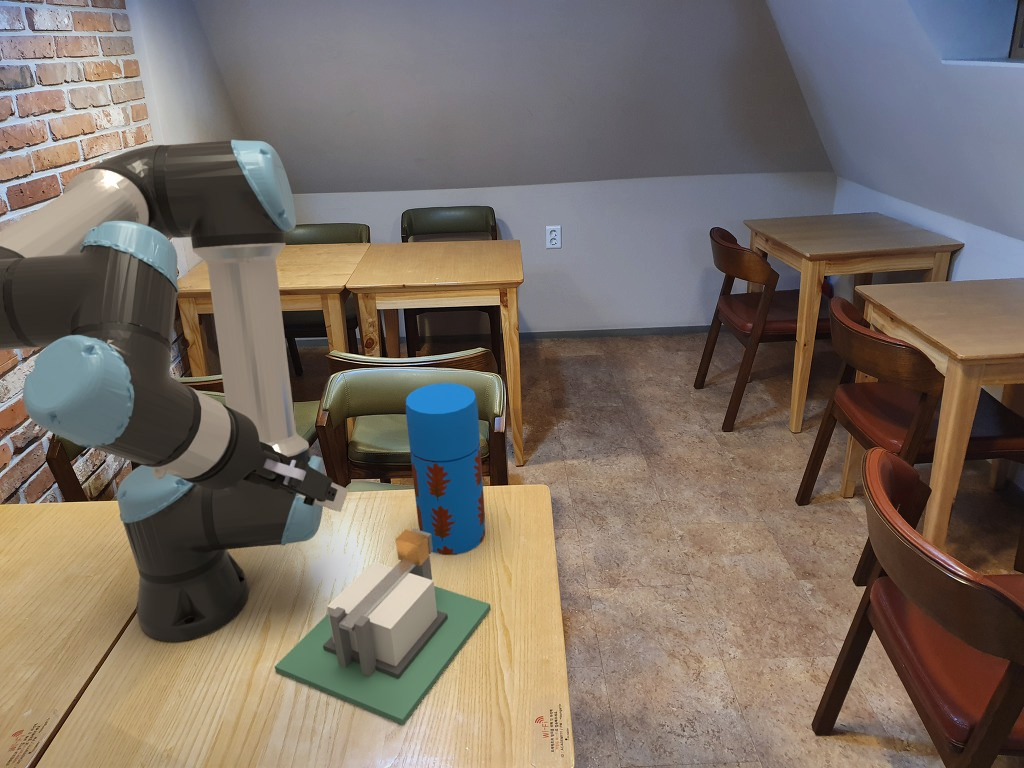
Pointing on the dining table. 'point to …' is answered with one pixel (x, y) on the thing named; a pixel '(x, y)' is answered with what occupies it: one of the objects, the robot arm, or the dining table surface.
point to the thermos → (447, 466)
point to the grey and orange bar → (391, 575)
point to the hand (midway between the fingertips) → (339, 499)
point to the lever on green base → (386, 642)
